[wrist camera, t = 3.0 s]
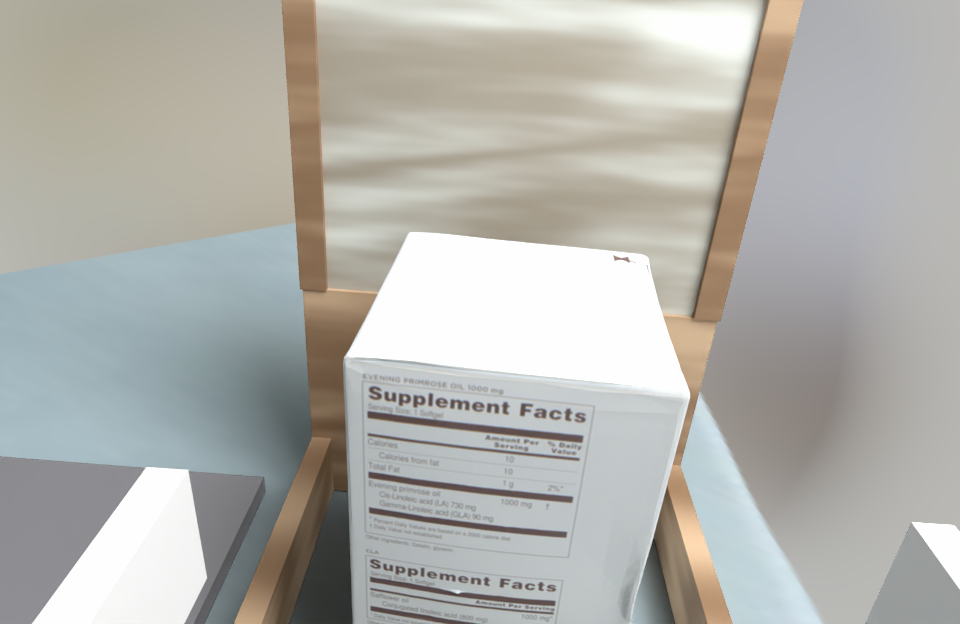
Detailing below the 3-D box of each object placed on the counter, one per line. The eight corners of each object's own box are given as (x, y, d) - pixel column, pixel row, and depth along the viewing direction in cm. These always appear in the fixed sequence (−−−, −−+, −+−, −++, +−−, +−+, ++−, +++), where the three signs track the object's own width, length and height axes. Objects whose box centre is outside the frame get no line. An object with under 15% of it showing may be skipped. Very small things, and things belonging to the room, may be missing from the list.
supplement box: (400, 546, 34) (405, 224, 26) (587, 568, 33) (650, 247, 25) (349, 743, 25) (334, 351, 17) (600, 777, 25) (700, 390, 17)
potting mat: (106, 833, 22) (101, 816, 22) (-380, 793, 22) (-396, 775, 22) (265, 491, 36) (263, 477, 36) (-33, 468, 36) (-38, 453, 36)
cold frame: (790, 947, 21) (1405, -72, 8) (160, 895, 21) (-174, -186, 8) (665, 502, 38) (804, -52, 25) (318, 474, 38) (285, -90, 25)
